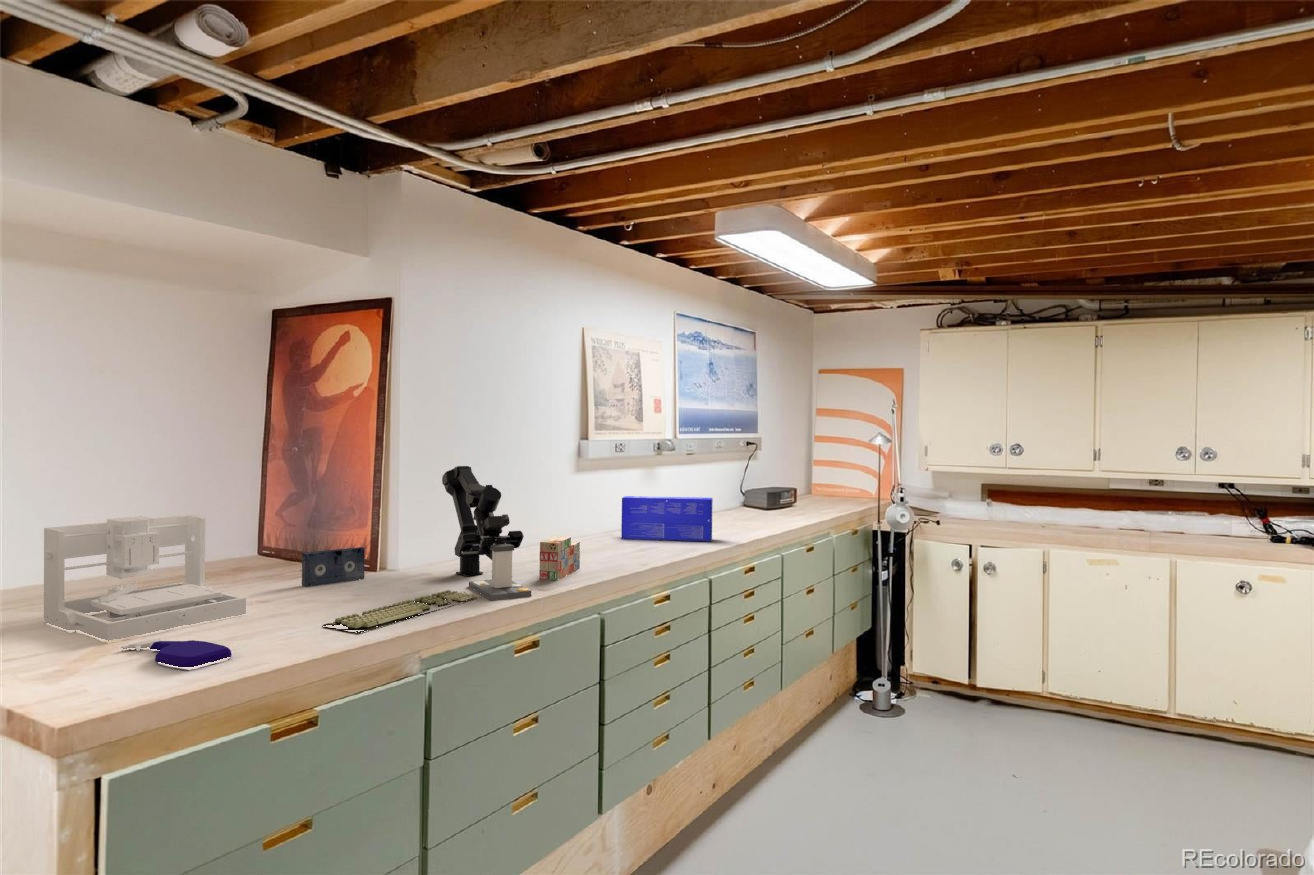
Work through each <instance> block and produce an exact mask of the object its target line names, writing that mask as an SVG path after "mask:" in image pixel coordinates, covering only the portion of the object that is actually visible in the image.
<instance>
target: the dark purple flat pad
mask: <svg viewBox="0 0 1314 875" xmlns="http://www.w3.org/2000/svg"><path fill="white" fill-rule="evenodd" d="M147 647H149V648H150V649H157V650H160V651H159V652H156V654H155V656H154V657H155V658H154V662H161V663H165V664H169V665H173V666H178V667H194V666H198V665H202V664H205V663H208V662H214V661H217V660H220V659H223V658H227V657H231V658H232V650H231V649H230V648H229V647H227V646H225V645H223V644H217V643H215V642H214V643H213V642H210V641H203V640H193V639H192V640H191V639H190V640H183V641H182V640H161V637H155V638H152V639H146V640H141V641H136V642H132V643H129V644H126V645H122V646H121V648H123V649H127V648H136V650H135V651H136V652H137V653H139V652H140V651H141V650H140V648H147ZM121 648H120V649H121Z"/></svg>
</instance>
